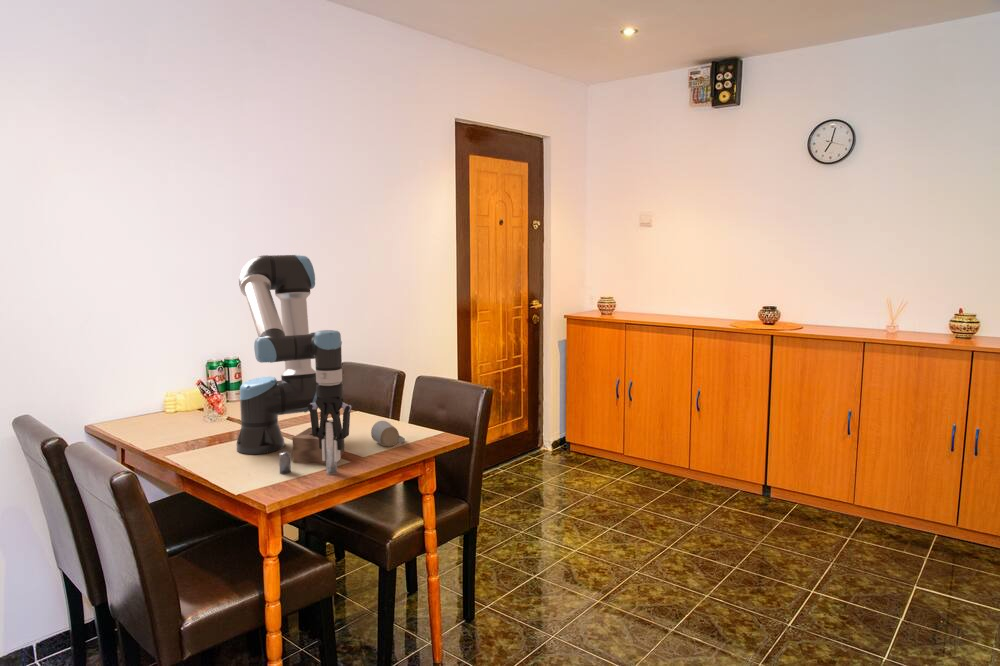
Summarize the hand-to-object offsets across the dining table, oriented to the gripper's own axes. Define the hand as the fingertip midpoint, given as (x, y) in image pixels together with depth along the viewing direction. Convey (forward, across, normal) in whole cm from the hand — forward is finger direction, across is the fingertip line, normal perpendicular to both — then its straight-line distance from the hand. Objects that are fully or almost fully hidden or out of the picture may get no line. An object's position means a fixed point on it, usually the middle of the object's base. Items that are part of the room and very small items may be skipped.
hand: (331, 459), depth 201 cm
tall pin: (+4, 0, 0) cm, 4 cm away
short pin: (+4, -14, -2) cm, 15 cm away
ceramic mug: (+4, +7, +32) cm, 33 cm away
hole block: (+4, -10, +13) cm, 17 cm away
